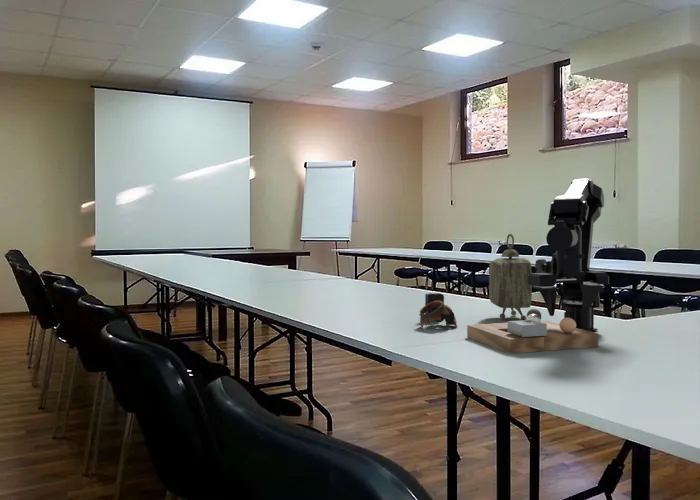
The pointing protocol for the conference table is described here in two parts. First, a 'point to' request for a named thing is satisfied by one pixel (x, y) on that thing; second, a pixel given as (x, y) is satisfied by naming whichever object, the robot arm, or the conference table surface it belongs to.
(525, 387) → the conference table surface
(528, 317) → the steel ball
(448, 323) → the brown arched legged figurine
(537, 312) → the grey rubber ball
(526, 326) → the brushed grey metal box
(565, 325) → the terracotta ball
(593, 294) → the robot arm
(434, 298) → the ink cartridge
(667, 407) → the conference table surface
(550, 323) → the walnut deck
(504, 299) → the tabletop clock
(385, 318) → the conference table surface
